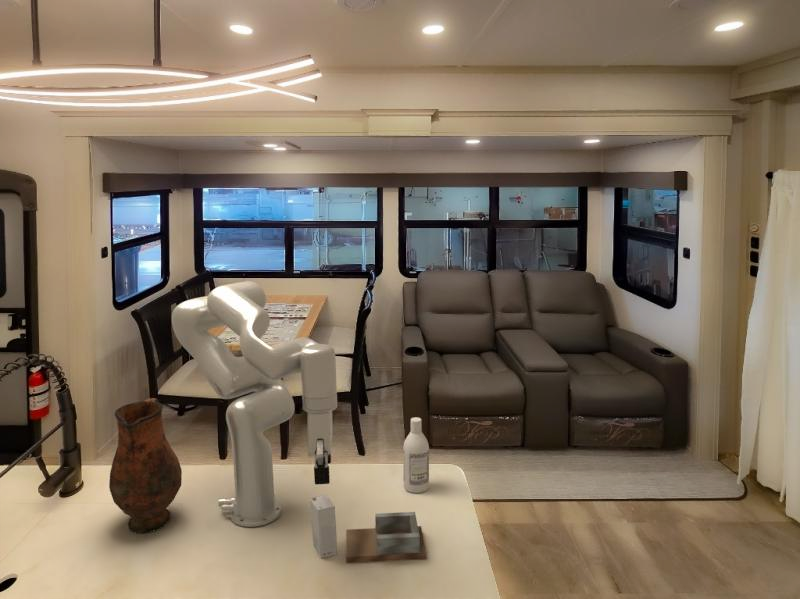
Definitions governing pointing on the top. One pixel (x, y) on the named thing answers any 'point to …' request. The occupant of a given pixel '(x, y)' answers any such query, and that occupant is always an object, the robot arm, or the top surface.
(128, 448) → the pitcher
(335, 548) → the skincare box
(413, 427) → the bath foam
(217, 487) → the top surface
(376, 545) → the u rest
